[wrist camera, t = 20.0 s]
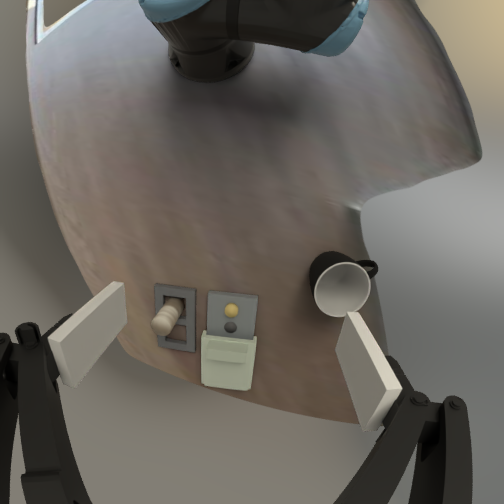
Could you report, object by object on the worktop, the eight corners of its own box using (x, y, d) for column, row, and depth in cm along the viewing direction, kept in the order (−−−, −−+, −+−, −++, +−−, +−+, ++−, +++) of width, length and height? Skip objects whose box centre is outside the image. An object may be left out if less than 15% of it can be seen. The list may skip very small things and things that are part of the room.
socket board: (156, 283, 51) (154, 285, 50) (196, 288, 51) (194, 291, 49) (160, 343, 54) (158, 346, 53) (196, 349, 54) (194, 352, 53)
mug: (311, 298, 50) (321, 325, 40) (298, 254, 48) (306, 273, 38) (370, 277, 49) (391, 299, 39) (360, 233, 47) (383, 247, 37)
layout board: (209, 290, 51) (206, 296, 48) (258, 295, 50) (257, 301, 48) (207, 343, 54) (205, 350, 51) (251, 348, 54) (251, 356, 51)
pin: (167, 293, 51) (150, 315, 42) (185, 297, 51) (171, 320, 42) (167, 309, 52) (151, 333, 43) (184, 313, 52) (170, 338, 43)
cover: (203, 330, 51) (198, 345, 46) (256, 336, 51) (256, 352, 46) (203, 377, 54) (198, 394, 49) (250, 383, 54) (249, 400, 49)
